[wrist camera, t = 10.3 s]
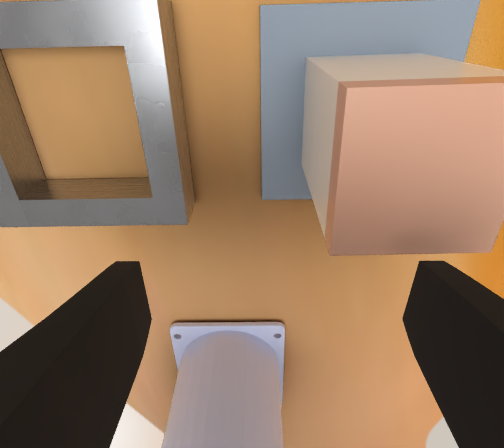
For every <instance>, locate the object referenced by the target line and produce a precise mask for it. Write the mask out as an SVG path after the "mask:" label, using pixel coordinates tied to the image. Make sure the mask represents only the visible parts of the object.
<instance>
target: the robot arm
mask: <svg viewBox="0 0 504 448" xmlns="http://www.w3.org/2000/svg"><path fill="white" fill-rule="evenodd" d="M151 320H152V318H151V313H150V309H149V304H148V299H147V295H146V290H145V285H144V281H143V276H142V272H141V267H140V262H139V261H116V262H115V263H113V264H112V265H111V266H109V267H108V268H107V269H105V270H104V271H103V272H102V273H100V274H99V275H98V276H97V277H96V278H94V279H93V280H92V281H91V282H90V283H88V284H87V285H86V286H85V287H84V288H82V289H81V290H80V291H79V292H77V293H76V294H75V295H74V296H72V297H71V298H70V299H69V300H68V301H66V302H65V303H64V304H63V305H61V306H60V307H59V308H58V309H56V310H55V311H54V312H53V313H51V314H50V315H49V316H48V317H46V318H45V319H44V320H42V321H41V322H40V323H38V324H37V325H36V326H34V327H33V328H32V329H30V330H29V331H28V332H26V333H25V334H24V335H22V336H21V337H20V338H18V339H17V340H16V341H14V342H13V343H12V344H10V345H9V346H8V347H6V348H5V349H4V350H2V351H1V352H0V448H109V447H110V444H111V442H112V439H113V436H114V434H115V431H116V428H117V426H118V423H119V420H120V417H121V415H122V412H123V409H124V407H125V404H126V401H127V399H128V396H129V393H130V391H131V388H132V385H133V382H134V380H135V377H136V374H137V371H138V369H139V366H140V363H141V360H142V358H143V354H144V350H145V346H146V342H147V338H148V334H149V329H150V325H151ZM403 322H404V326H405V329H406V332H407V335H408V338H409V341H410V344H411V347H412V350H413V353H414V356H415V358H416V360H417V362H418V364H419V366H420V369H421V371H422V373H423V375H424V377H425V379H426V381H427V383H428V385H429V387H430V389H431V391H432V394H433V396H434V398H435V400H436V402H437V404H438V406H439V408H440V410H441V412H442V414H443V416H444V418H445V420H446V422H447V424H448V426H449V428H450V430H451V432H452V435H453V437H454V438H455V441H456V443H457V445H458V447H459V448H504V299H503V298H501V297H500V296H498V295H497V294H495V293H494V292H492V291H491V290H489V289H488V288H486V287H485V286H483V285H481V284H480V283H478V282H477V281H475V280H474V279H472V278H471V277H469V276H468V275H466V274H465V273H463V272H461V271H460V270H458V269H457V268H455V267H453V266H452V265H450V264H448V263H447V262H445V261H419V264H418V267H417V271H416V274H415V278H414V281H413V284H412V288H411V291H410V295H409V298H408V302H407V305H406V308H405V312H404V315H403ZM276 333H279V334H276ZM177 334H179V335H177ZM170 335H171V340H172V345H173V350H174V355H175V359H176V364H177V369H178V376H177V380H176V385H175V389H174V394H173V398H172V403H171V407H170V412H169V416H168V421H167V425H166V430H165V434H164V439H163V444H162V448H284V443H283V428H282V412H281V405H282V396H283V369H284V342H285V327H284V324H283V323H281V322H200V323H173V324H172V325H171V327H170Z"/></svg>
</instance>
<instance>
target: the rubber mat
mask: <svg viewBox="0 0 504 448" xmlns="http://www.w3.org/2000/svg"><path fill="white" fill-rule="evenodd" d="M479 3H480V0H426V1H390V2H353V3H317V4H281V5H260V55H261V161H262V200H289V199H312V196H311V193H310V190H309V187H308V184H307V180H306V177H305V174H304V171H303V168H302V164H301V163H302V140H303V116H304V93H305V70H306V57H322V56H351V55H379V54H408V53H423V54H428V55H433V56H438V57H442V58H447V59H452V60H457V61H462V62H464V60H465V56H466V52H467V49H468V45H469V41H470V37H471V33H472V30H473V26H474V22H475V18H476V15H477V11H478V7H479Z"/></svg>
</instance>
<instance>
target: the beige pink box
mask: <svg viewBox="0 0 504 448" xmlns="http://www.w3.org/2000/svg"><path fill="white" fill-rule="evenodd" d="M301 164H302V168H303V171H304V174H305V177H306V180H307V184H308V187H309V190H310V193H311V196H312V200H313V203H314V206H315V209H316V212H317V216H318V219H319V222H320V225H321V228H322V232H323V235H324V238H325V241H326V244H327V248H328V251H329V254H330V256H343V255H393V254H442V253H491V251H492V249H493V246H494V243H495V241H496V238H497V236H498V233H499V231H500V228H501V226H502V223H503V221H504V70H502V69H497V68H492V67H487V66H482V65H477V64H472V63H467V62H462V61H457V60H452V59H447V58H442V57H438V56H433V55H428V54H423V53H408V54H379V55H351V56H322V57H306V70H305V93H304V116H303V140H302V163H301Z"/></svg>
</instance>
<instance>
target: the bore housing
mask: <svg viewBox="0 0 504 448" xmlns="http://www.w3.org/2000/svg"><path fill="white" fill-rule="evenodd" d="M86 46H124V49H125V54H126V59H127V65H128V70H129V75H130V80H131V86H132V91H133V96H134V102H135V107H136V112H137V117H138V123H139V128H140V133H141V139H142V144H143V149H144V154H145V160H146V165H147V170H148V176H149V178H106V179H48V180H46V177H45V175H44V172H43V169H42V166H41V163H40V161H39V158H38V155H37V152H36V149H35V146H34V144H33V141H32V138H31V135H30V132H29V129H28V127H27V124H26V121H25V118H24V115H23V113H22V110H21V107H20V104H19V101H18V98H17V96H16V93H15V90H14V87H13V84H12V81H11V79H10V76H9V73H8V70H7V67H6V65H5V62H4V59H3V56H2V53H1V50H0V227H48V226H117V225H186V224H188V222H189V219H190V216H191V213H192V210H193V207H194V204H195V196H194V187H193V179H192V171H191V162H190V154H189V146H188V137H187V129H186V121H185V112H184V104H183V96H182V87H181V79H180V71H179V62H178V54H177V46H176V37H175V29H174V21H173V12H172V4H171V1H169V0H55V1H20V2H0V49H8V48H47V47H86Z"/></svg>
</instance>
